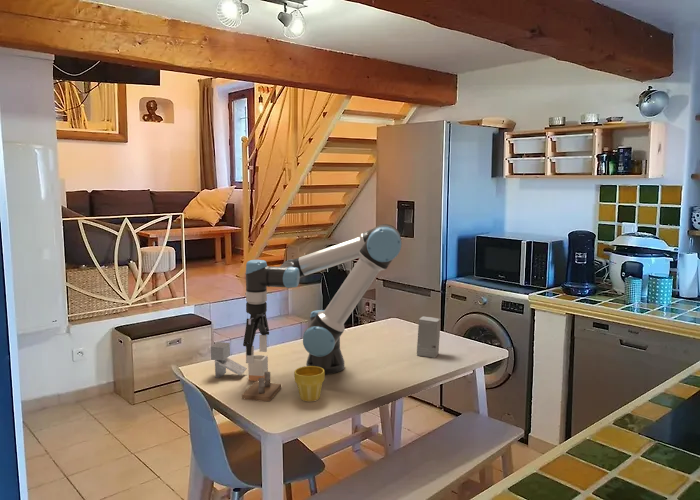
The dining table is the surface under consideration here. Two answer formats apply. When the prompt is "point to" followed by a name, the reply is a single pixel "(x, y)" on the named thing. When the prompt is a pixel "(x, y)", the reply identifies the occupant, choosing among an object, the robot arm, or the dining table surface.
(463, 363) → the dining table surface
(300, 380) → the plant pot
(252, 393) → the pin board
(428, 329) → the skincare box
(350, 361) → the dining table surface
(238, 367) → the chute
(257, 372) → the sleeve
